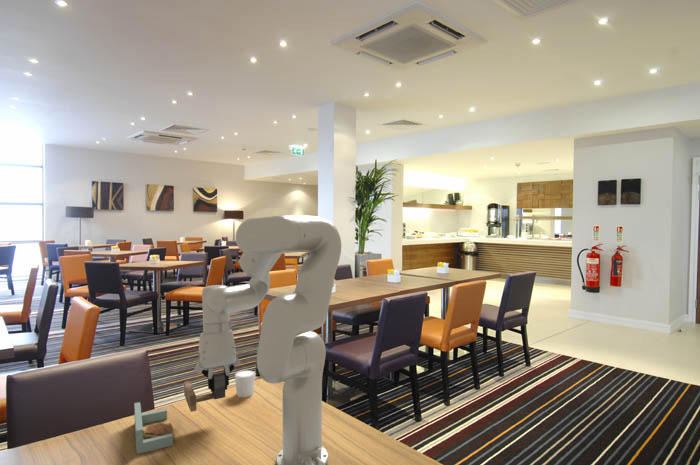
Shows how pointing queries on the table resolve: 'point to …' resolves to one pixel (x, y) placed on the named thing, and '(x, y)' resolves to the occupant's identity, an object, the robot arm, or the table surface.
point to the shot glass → (245, 383)
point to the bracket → (139, 420)
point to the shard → (158, 429)
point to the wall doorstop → (218, 393)
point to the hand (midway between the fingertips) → (218, 389)
